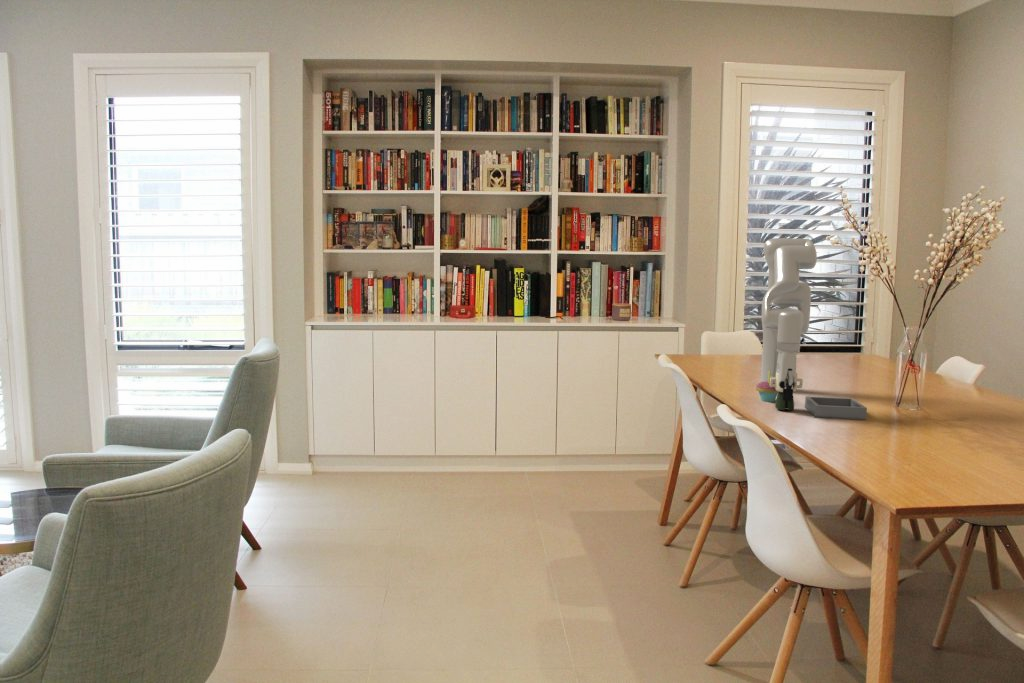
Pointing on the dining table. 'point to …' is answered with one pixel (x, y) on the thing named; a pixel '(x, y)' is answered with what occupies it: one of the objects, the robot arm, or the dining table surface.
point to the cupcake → (767, 390)
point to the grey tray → (835, 408)
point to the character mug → (779, 387)
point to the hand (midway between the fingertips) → (785, 397)
